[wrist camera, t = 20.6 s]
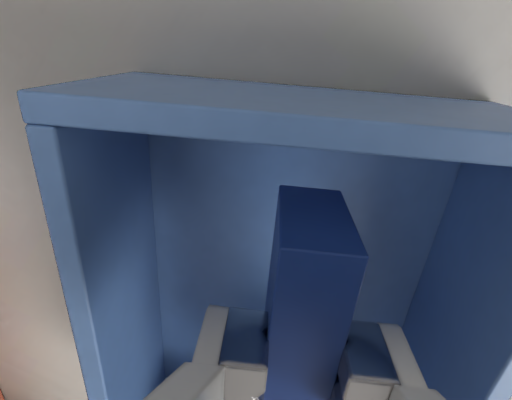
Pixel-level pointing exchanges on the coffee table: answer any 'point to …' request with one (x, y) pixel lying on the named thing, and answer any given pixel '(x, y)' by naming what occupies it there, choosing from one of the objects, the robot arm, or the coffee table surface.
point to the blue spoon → (311, 291)
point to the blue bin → (271, 215)
